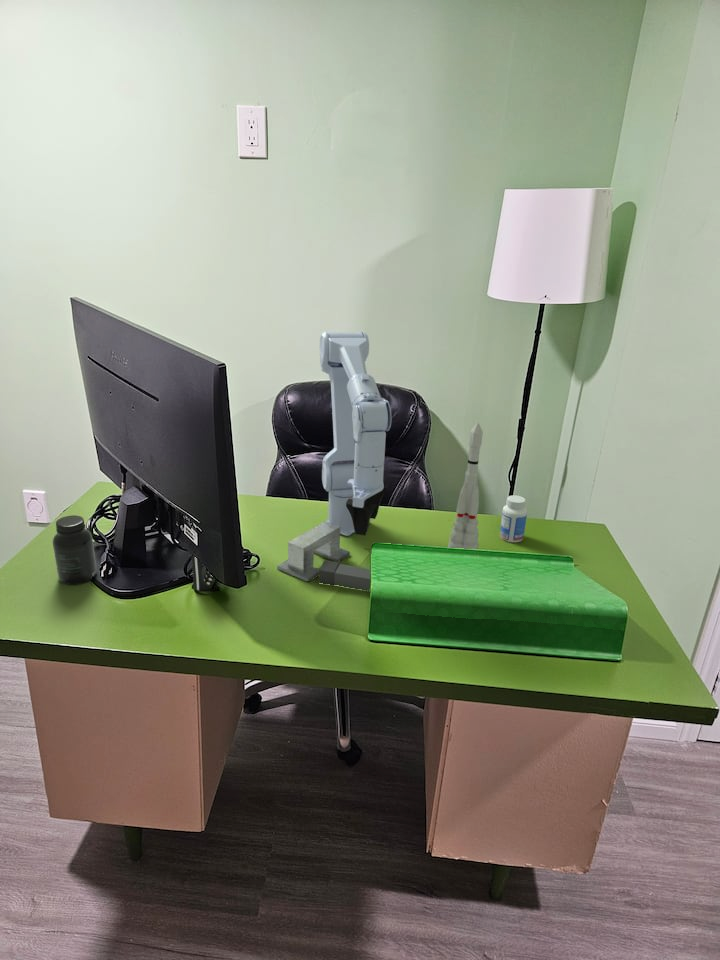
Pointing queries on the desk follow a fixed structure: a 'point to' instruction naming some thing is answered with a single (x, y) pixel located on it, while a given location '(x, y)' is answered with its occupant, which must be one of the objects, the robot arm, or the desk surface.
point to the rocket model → (468, 499)
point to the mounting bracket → (313, 550)
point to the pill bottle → (513, 519)
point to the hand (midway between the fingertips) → (365, 525)
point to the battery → (201, 576)
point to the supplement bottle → (73, 551)
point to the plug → (344, 575)
